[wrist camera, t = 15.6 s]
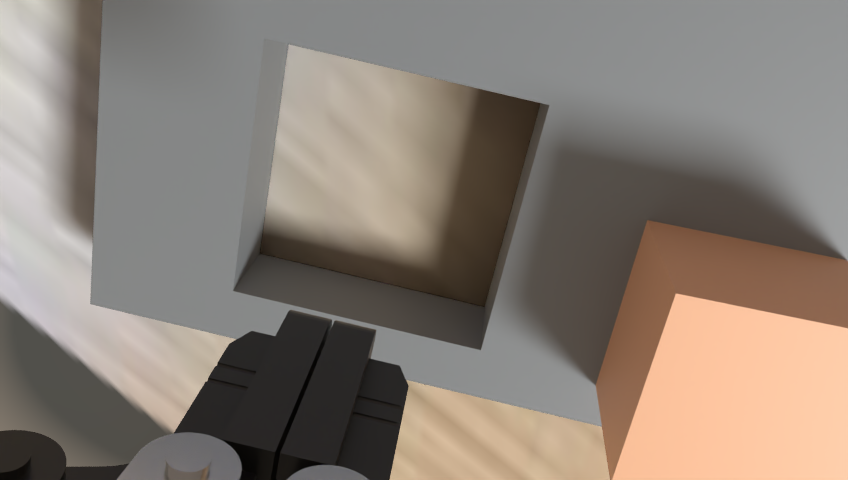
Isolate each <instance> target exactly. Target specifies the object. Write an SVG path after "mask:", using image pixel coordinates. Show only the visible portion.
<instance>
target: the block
mask: <svg viewBox="0 0 848 480" xmlns="http://www.w3.org/2000/svg"><path fill="white" fill-rule="evenodd" d="M596 391H597V398H598V404H599V411H600V417H601V424H602V430H603V436H604V443H605V449H606V456H607V462H608V469H609V475H610V480H848V261H847V260H843V259H838V258H833V257H828V256H824V255H819V254H814V253H809V252H804V251H799V250H794V249H789V248H784V247H779V246H774V245H769V244H764V243H759V242H754V241H749V240H744V239H739V238H734V237H729V236H724V235H719V234H714V233H709V232H704V231H699V230H694V229H689V228H684V227H679V226H674V225H669V224H664V223H659V222H654V221H649V220H647V223H646V226H645V229H644V232H643V235H642V239H641V242H640V245H639V248H638V251H637V255H636V258H635V261H634V264H633V267H632V271H631V274H630V277H629V280H628V283H627V287H626V290H625V293H624V296H623V299H622V303H621V306H620V309H619V312H618V315H617V319H616V322H615V325H614V328H613V331H612V335H611V338H610V341H609V344H608V347H607V351H606V354H605V357H604V360H603V363H602V367H601V370H600V373H599V376H598V379H597V383H596Z"/></svg>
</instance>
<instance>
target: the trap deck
mask: <svg viewBox="0 0 848 480" xmlns="http://www.w3.org/2000/svg"><path fill="white" fill-rule="evenodd" d="M288 44H290V45H294V46H298V47H303V48H307V49H311V50H316V51H320V52H324V53H328V54H333V55H337V56H341V57H345V58H350V59H354V60H358V61H363V62H367V63H371V64H375V65H380V66H384V67H388V68H393V69H397V70H401V71H405V72H410V73H414V74H418V75H422V76H427V77H431V78H435V79H440V80H444V81H448V82H452V83H457V84H461V85H465V86H469V87H474V88H478V89H482V90H487V91H491V92H495V93H499V94H504V95H508V96H512V97H517V98H521V99H525V100H529V101H534V102H538V103H540V107H539V111H538V114H537V118H536V122H535V125H534V129H533V133H532V136H531V140H530V143H529V147H528V151H527V154H526V158H525V162H524V165H523V169H522V173H521V176H520V180H519V183H518V187H517V191H516V194H515V198H514V202H513V205H512V209H511V212H510V216H509V220H508V223H507V227H506V231H505V234H504V238H503V242H502V245H501V249H500V252H499V256H498V260H497V263H496V267H495V271H494V274H493V278H492V282H491V285H490V289H489V292H488V296H487V300H486V303H485V307H482V306H477V305H473V304H469V303H465V302H461V301H456V300H452V299H448V298H444V297H440V296H435V295H431V294H427V293H423V292H419V291H414V290H410V289H406V288H402V287H398V286H393V285H389V284H385V283H381V282H377V281H372V280H368V279H364V278H360V277H356V276H351V275H347V274H343V273H339V272H335V271H330V270H326V269H322V268H318V267H314V266H309V265H305V264H301V263H297V262H293V261H288V260H284V259H280V258H276V257H272V256H267V255H263V254H260V248H261V240H262V233H263V226H264V218H265V211H266V204H267V196H268V189H269V182H270V175H271V167H272V160H273V153H274V145H275V138H276V131H277V123H278V116H279V109H280V101H281V94H282V87H283V79H284V72H285V65H286V58H287V50H288ZM647 220H649V221H654V222H659V223H664V224H669V225H674V226H679V227H684V228H689V229H694V230H699V231H704V232H709V233H714V234H719V235H724V236H729V237H734V238H739V239H744V240H749V241H754V242H759V243H764V244H769V245H774V246H779V247H784V248H789V249H794V250H799V251H804V252H809V253H814V254H819V255H824V256H828V257H833V258H838V259H843V260H847V261H848V0H103V2H102V27H101V52H100V77H99V102H98V127H97V152H96V177H95V202H94V226H93V251H92V276H91V301H90V304H92V305H97V306H101V307H105V308H109V309H113V310H117V311H122V312H126V313H130V314H134V315H138V316H142V317H147V318H151V319H155V320H159V321H163V322H167V323H172V324H176V325H180V326H184V327H188V328H192V329H197V330H201V331H205V332H209V333H213V334H217V335H222V336H226V337H230V338H234V339H238V338H240V337H242V336H243V335H245V334H247V333H249V332H250V331H255V332H259V333H264V334H268V335H272V336H276V334H277V332H278V330H279V328H280V326H281V324H282V322H283V321H284V319H285V317H286V315H287V313H288V311H289V310H294V311H299V312H303V313H307V314H311V315H316V316H320V317H324V318H328V319H332V325H333V323H334V321H335V320H337V321H342V322H346V323H350V324H354V325H359V326H363V327H367V328H371V329H375V330H377V331H376V337H375V342H374V346H373V351H372V355H371V359H374V360H378V361H383V362H387V363H391V364H395V365H399V366H400V367H401V370H402V372H403V374H404V377H405V379H406V380H409V381H413V382H418V383H422V384H426V385H430V386H434V387H439V388H443V389H447V390H451V391H455V392H459V393H464V394H468V395H472V396H476V397H480V398H484V399H489V400H493V401H497V402H501V403H505V404H509V405H514V406H518V407H522V408H526V409H530V410H534V411H539V412H543V413H547V414H551V415H555V416H559V417H564V418H568V419H572V420H576V421H580V422H584V423H589V424H593V425H597V426H601V427H602V424H601V417H600V411H599V404H598V398H597V391H596V383H597V379H598V376H599V373H600V370H601V367H602V363H603V360H604V357H605V354H606V351H607V347H608V344H609V341H610V338H611V335H612V331H613V328H614V325H615V322H616V319H617V315H618V312H619V309H620V306H621V303H622V299H623V296H624V293H625V290H626V287H627V283H628V280H629V277H630V274H631V271H632V267H633V264H634V261H635V258H636V255H637V251H638V248H639V245H640V242H641V239H642V235H643V232H644V229H645V226H646V223H647Z"/></svg>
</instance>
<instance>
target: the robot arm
mask: <svg viewBox="0 0 848 480" xmlns="http://www.w3.org/2000/svg"><path fill="white" fill-rule="evenodd" d="M376 331H377V330H375V329H371V328H367V327H363V326H359V325H354V324H350V323H346V322H342V321H337V320H335V321H334V323H333V325H332V319H328V318H324V317H320V316H316V315H311V314H307V313H303V312H299V311H294V310H289V311H288V313H287V315H286V317H285V319H284V321H283V322H282V324H281V326H280V328H279V330H278V332H277V334H276V336H272V335H268V334H264V333H259V332H255V331H250V332H249V333H247V334H245V335H243V336H242V337H240V338H238V339H237V340H235V341H233V342H232V343H230V344H229V345H228V347H227V349H226V350H225V352H224V353H223V355H222V357H221V358H220V360H219V361H218V364H217V366H215V368H214V369H213V371H212V373H211V374H210V376H209V378H208V381H207V382H205V384H204V386H203V387H202V389H201V390H200V392H199V394H198V395H197V397H196V398H195V400H194V402H193V403H192V405H191V406H190V408H189V410H188V411H187V413H186V415H185V416H184V418H183V419H182V421H181V423H180V424H179V426H178V427H177V429H176V431H175V432H174V434H170V435H166V436H163V437H160V438H158V439H155V440H154V441H152V442H150V443H148V444H147V445H146V446H144V447H143V448H142V449H141V450H140V451H139V452H138V453H137V455H136V456H135V457H134V458H133V460H132V461H131V462H130V463H129V464H124V465H118V466H107V467H66V456H65V453H64V451H63V449H62V448H61V446H60V445H59V444H58V443H57V442H55V441H54V440H52V439H51V438H49V437H47V436H44V435H42V434H39V433H35V432H30V431H22V430H9V431H0V480H389V479H390V474H391V469H392V464H393V459H394V454H395V449H396V445H397V440H398V435H399V430H400V425H401V420H402V415H403V410H404V406H405V401H406V396H407V391H408V384H407V381H406V379H405V377H404V374H403V372H402V370H401V367H400V366H399V365H395V364H391V363H387V362H383V361H378V360H374V359H371V355H372V351H373V346H374V342H375V337H376Z"/></svg>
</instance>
